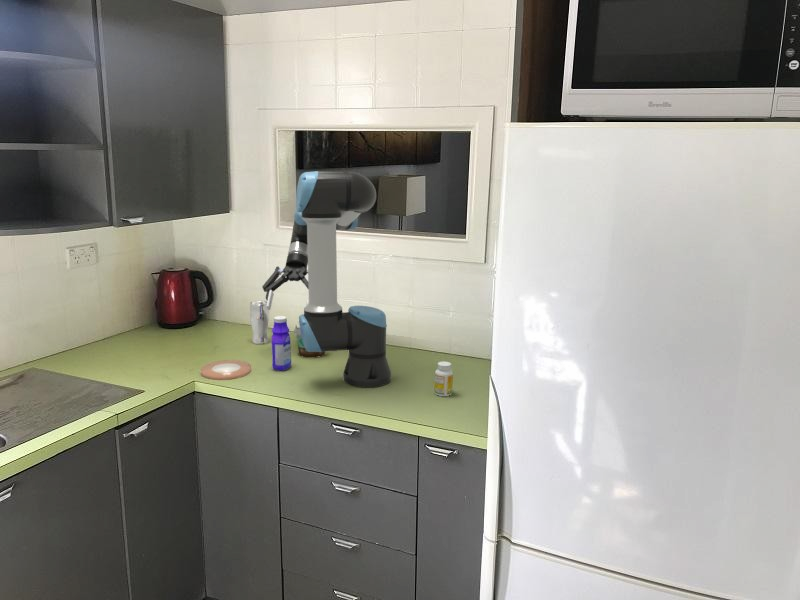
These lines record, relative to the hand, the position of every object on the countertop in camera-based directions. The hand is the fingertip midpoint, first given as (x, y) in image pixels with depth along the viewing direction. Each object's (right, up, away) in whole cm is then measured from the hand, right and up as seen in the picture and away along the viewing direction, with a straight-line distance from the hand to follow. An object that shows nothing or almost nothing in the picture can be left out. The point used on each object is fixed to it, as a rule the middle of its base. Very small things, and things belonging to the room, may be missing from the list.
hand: (287, 309), depth 222 cm
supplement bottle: (+51, -25, -25) cm, 62 cm away
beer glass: (-14, -13, +22) cm, 29 cm away
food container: (+6, -17, +8) cm, 19 cm away
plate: (-18, -20, -9) cm, 29 cm away
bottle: (-1, -20, -5) cm, 20 cm away
